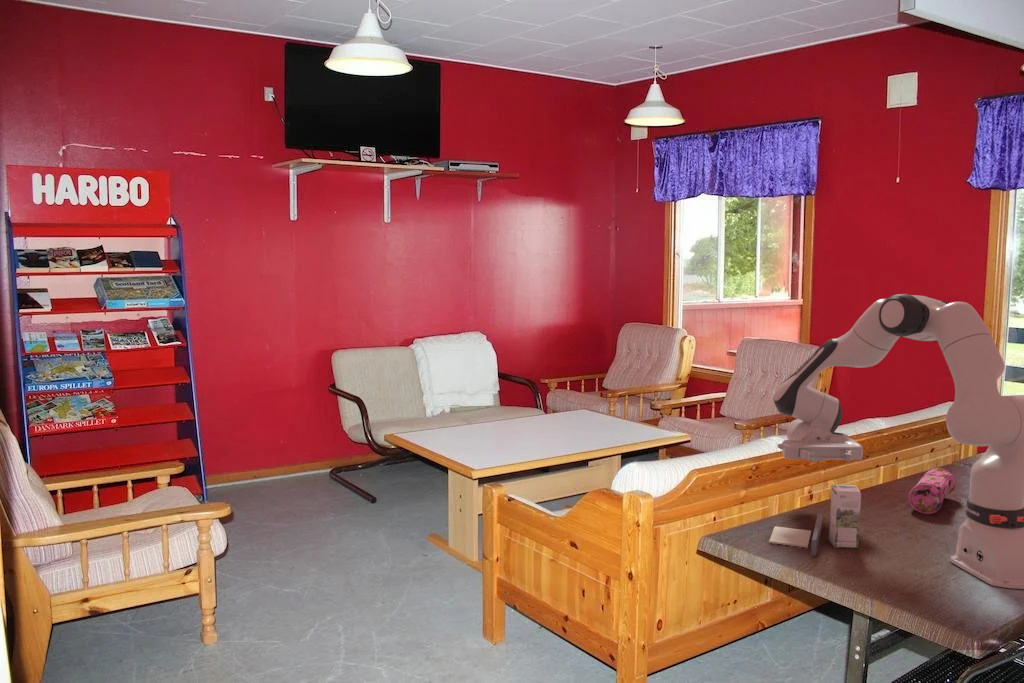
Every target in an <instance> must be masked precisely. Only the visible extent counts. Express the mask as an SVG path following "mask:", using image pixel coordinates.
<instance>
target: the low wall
mask: <svg viewBox="0 0 1024 683" xmlns="http://www.w3.org/2000/svg"><path fill="white" fill-rule="evenodd" d="M822 524H823V512H817V516H816V520H815V524H814V528H813V532H812V536H811V550H810V552H811V553H810V555H811V557H815V556H816V557H817V553H816V552H818V548H819V543H818V542H820V538H819V537H821V533H822V532H821V531H822ZM817 547H818V548H817Z"/></svg>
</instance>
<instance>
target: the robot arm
mask: <svg viewBox="0 0 1024 683" xmlns="http://www.w3.org/2000/svg"><path fill="white" fill-rule="evenodd" d="M900 337H901V338H906V339H911V340H913V341H919V342H920V341H921V342H933V343H934V342H935V343H938V345H939V348H940V350H941V352H942V355H943V357H944V359H945V362H946V364H947V366H948V369H949V371H950V374H951V377H952V379H953V383H954V384H953V385H954V392H955V394H954V400H953V402H952V404H951V406H950V407H949V408H948V410H947V412H946V415H945V424H946V428H947V432H948V433H949V435H950V437H951V438H952V439H953V440H954V441H956V442H957V443H959V444H964V445H968V446H975V447H987V449H986V451H985V453H983V455H982V456H981V457H980V458H979V459H978V460H976V461H975V462H974V463H973V465H972V467H971V469H970V477H969V478H970V479H969V493H968V499H967V500H966V504H965V516H966V519H965V520H964V522H963V523H962V524H961V525H960V526H959V530H958V536H957V543H956V550H955V554H954V555H951V556H950V559H949V562H950V563H952V564H953V565H955V566H957V567H959V568H960V569H962V570H964V571H966V572H967V573H969V574H971V575H972V576H974V577H976V578H978V579H980V580H982V581H983V582H984V583H987V584H988V585H991V586H994V587H997V588H998V587H999V588H1000V587H1001V588H1004V589H1005V588H1007V589H1017V590H1024V394H1014V395H1012V394H1011V395H1001V393H1000V391H999V388H998V382H997V380H999V379H1000V377H1001V376H1002V375H1003V374H1004V371H1005V361H1004V359H1003V357H1002V354H1001V353H1000V351H999V348H998V347H997V344H996V342H995V340H994V338H993V336H992V334H991V332H990V330H989V328H988V326H987V325H986V323H985V322H984V321H983V319H982V317H981V316H980V314H979V313H978V312H977V310H976V309H975V307H973V305H971V304H969V302H965V301H953V302H948V301H945V300H943V299H942V300H941V299H939V300H938V299H935V298H932V297H928V296H926V295H918V294H915V295H913V294H908V293H901V294H900V293H899V294H894V295H891V296H889V297H887V298H880V299H878V300H876V301H874V302H873V303H872V304H871V305H870V306H869V307H867V309H865V311H864V312H863V313H862V315H860V317H859V318H858V319H857V320H856V321H855V323H854V324H853V326H852V327H851V328H850V330H848V331H847V332H845V334H843V335H841V336H839V337H837V338H831V339H828V340H826V342H824V343H823V344H821V345H820V346H819V347H818V348H817V349H816V350H815V351H814V352H813V353H812V354H811V355H810V356H809V357H808V358H807V359H806V361H804V362H803V363H802V365H800V366H799V367H798V368H797V370H795V372H794V373H793V374H791V375H790V376H789V377H788V378H786V379H785V380H784V381H782V382H781V383H780V384H779V386H778V387H777V388H776V391H775V392H774V395H773V403H774V406H775V408H776V409H777V411H778V413H780V414H783V415H786V416H788V417H792V418H795V419H793V420H792V421H791V422H790V423H788V425H787V427H786V437H787V439H785V440H782V442H781V443H777V448H778V449H779V450H782V451H781V453H782V456H783V457H784V458H785V459H788V460H807V461H809V462H812V463H813V462H814V463H817V462H818V463H819V462H823V461H826V460H829V461H831V460H835V461H837V460H838V461H840V460H841V461H843V460H844V461H845V462H852V461H860V460H862V459H863V456H864V447H863V445H862V444H861V443H859V442H858V441H856V440H855V439H853V438H850V437H849V435H848V434H847V433H843V432H836V430H837V429H838V427H839V425H840V424H841V421H842V417H843V409H842V404H841V402H840V400H839V398H837V397H835V396H832V395H830V394H828V393H825V392H823V391H820V390H818V389H816V388H814V387H811V386H809V384H811V383H812V382H813V381H814V380H815V378H817V377H818V376H819V375H820V374H821V373H822V372H823V371H824V370H825V369H829V368H831V367H847V368H848V367H849V368H860V369H861V368H862V369H864V368H870V367H874V366H876V365H877V364H879V363H881V361H882V360H883V359H885V358H886V356H887V355H888V353H889V352H890V351H891V349H893V347H894V345H895V343H896V342H897V341H898V340H899V339H900Z"/></svg>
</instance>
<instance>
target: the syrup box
mask: <svg viewBox="0 0 1024 683" xmlns="http://www.w3.org/2000/svg"><path fill="white" fill-rule="evenodd" d="M829 498H830V500H829V520H828V541H829V543H830V544H831V545H832V546H833V547H834V549H835V548H836V549H837V548H838V549H858V548H859V538H860V536H859V535H860V519H861V518H860V517H861V505H862V504H861V502H862V492H861V491H860V489H859V488H858V487H857V486H856V485H854V484H831V485H830V497H829Z"/></svg>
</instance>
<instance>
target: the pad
mask: <svg viewBox="0 0 1024 683" xmlns="http://www.w3.org/2000/svg"><path fill="white" fill-rule="evenodd" d="M811 537H812V530H809V529H799V528H792V527H782V526H777V525H776V526H774V528H773V530H772V533H771V535H770V538H769V541H768V543H769V542H775V543H781V544H787V545H794V546H800V547H799V548H801V547H807V548H806V549H808V548H809V545H808V544H810V541H809V540H811Z"/></svg>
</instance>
